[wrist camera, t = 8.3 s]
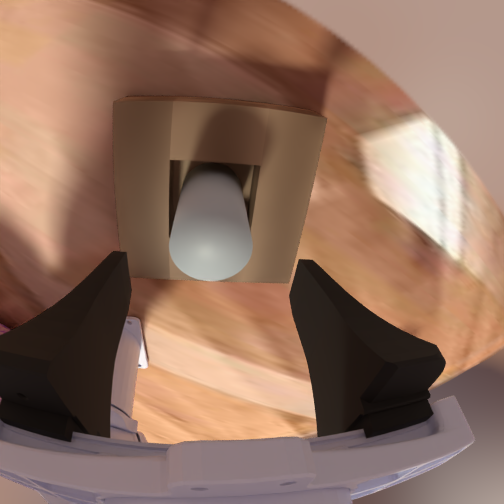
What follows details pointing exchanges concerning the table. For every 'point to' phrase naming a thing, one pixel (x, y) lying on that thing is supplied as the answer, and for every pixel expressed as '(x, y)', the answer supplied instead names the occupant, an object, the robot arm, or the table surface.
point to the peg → (211, 225)
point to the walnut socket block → (213, 151)
